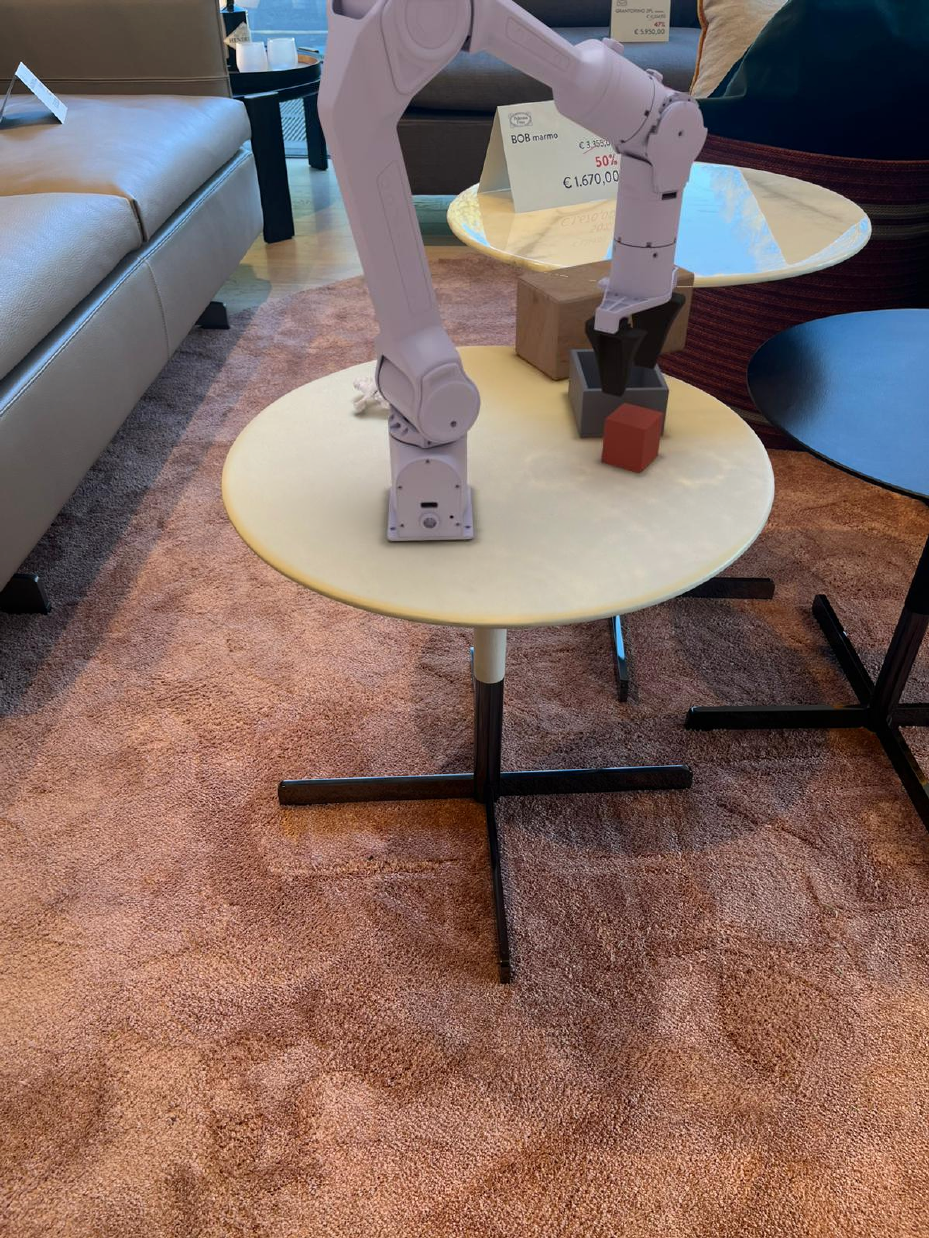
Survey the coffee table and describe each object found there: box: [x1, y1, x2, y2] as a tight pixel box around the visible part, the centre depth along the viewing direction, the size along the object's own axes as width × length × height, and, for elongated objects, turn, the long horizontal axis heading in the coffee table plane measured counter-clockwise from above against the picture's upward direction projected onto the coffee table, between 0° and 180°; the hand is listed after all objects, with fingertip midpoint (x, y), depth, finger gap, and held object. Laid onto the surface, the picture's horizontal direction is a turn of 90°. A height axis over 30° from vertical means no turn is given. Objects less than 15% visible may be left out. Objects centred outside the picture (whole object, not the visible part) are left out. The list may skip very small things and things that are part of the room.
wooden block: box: [514, 258, 695, 381], centre depth 117 cm, size 10×10×20 cm
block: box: [600, 403, 664, 474], centre depth 96 cm, size 4×4×5 cm
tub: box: [567, 349, 670, 439], centre depth 104 cm, size 11×9×6 cm
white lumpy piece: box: [353, 374, 389, 413], centre depth 107 cm, size 8×4×7 cm
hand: (629, 379), depth 92 cm, fingers open, 7 cm apart
